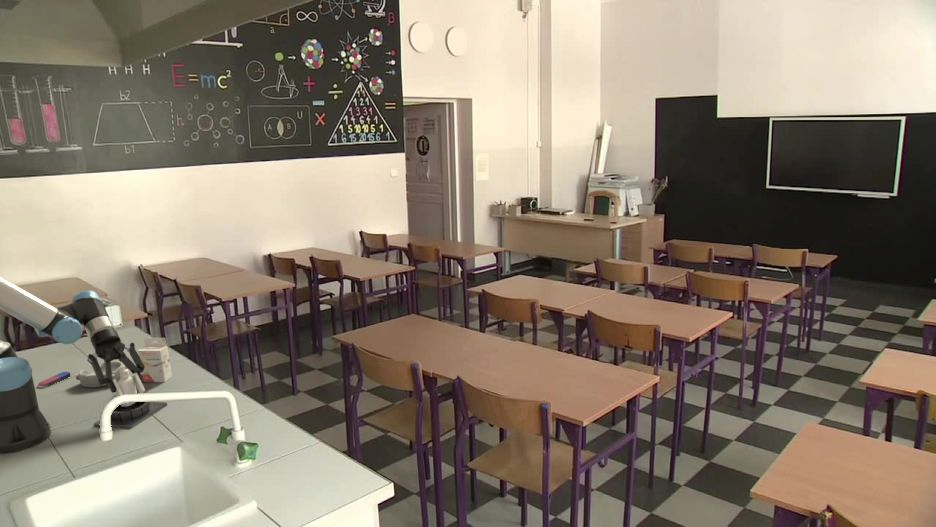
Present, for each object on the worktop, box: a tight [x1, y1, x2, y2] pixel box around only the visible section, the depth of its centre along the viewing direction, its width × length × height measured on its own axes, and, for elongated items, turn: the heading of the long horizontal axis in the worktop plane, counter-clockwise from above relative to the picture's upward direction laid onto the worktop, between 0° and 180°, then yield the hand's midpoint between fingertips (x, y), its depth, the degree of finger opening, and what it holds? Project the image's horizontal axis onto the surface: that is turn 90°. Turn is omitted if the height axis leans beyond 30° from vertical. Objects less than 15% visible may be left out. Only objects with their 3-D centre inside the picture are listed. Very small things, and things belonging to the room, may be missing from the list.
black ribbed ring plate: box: [93, 401, 168, 429], centre depth 201 cm, size 16×13×3 cm
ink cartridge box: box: [137, 337, 173, 383], centre depth 228 cm, size 9×5×15 cm, turn 84°
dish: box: [74, 361, 129, 388], centre depth 230 cm, size 14×14×5 cm
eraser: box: [37, 371, 71, 389], centre depth 232 cm, size 11×4×2 cm, turn 160°
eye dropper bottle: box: [117, 366, 138, 407], centre depth 200 cm, size 4×6×12 cm
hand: (132, 395), depth 198 cm, fingers closed on eye dropper bottle, 5 cm apart
